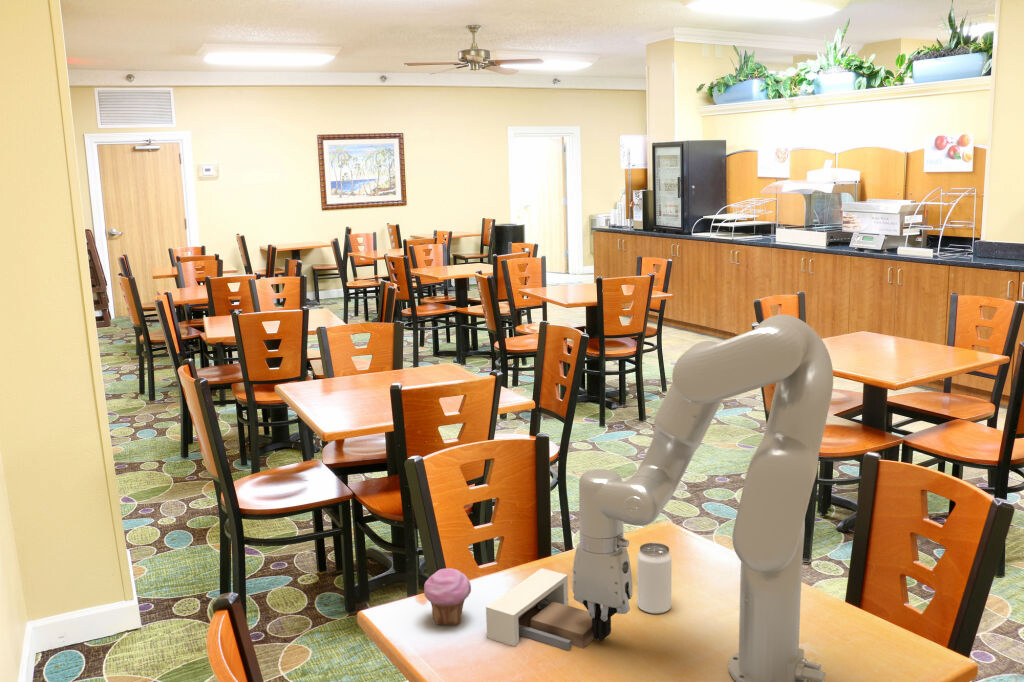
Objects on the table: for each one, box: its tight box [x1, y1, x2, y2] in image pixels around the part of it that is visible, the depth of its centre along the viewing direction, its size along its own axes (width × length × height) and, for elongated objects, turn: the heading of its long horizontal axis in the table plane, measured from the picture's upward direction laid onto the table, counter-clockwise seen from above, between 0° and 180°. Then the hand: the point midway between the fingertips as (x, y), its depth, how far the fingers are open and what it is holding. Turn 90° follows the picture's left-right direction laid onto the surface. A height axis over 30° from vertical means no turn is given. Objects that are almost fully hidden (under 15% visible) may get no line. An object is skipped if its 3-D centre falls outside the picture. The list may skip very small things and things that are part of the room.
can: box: [636, 542, 673, 615], centre depth 167 cm, size 6×6×12 cm
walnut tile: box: [529, 602, 595, 649], centre depth 160 cm, size 11×8×3 cm
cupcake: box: [423, 567, 472, 626], centre depth 164 cm, size 9×9×10 cm
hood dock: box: [485, 567, 572, 652], centre depth 161 cm, size 15×19×6 cm
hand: (601, 636), depth 155 cm, fingers closed
